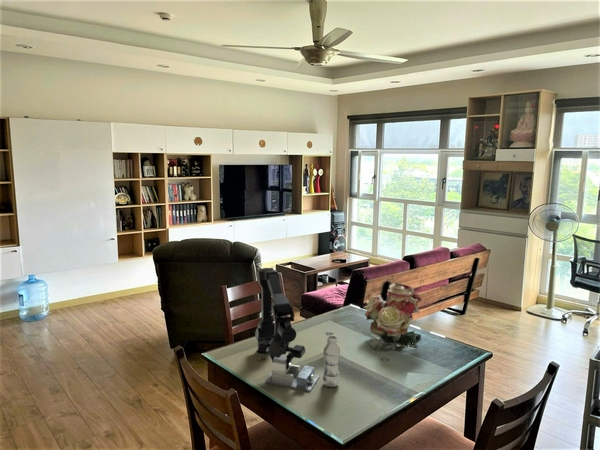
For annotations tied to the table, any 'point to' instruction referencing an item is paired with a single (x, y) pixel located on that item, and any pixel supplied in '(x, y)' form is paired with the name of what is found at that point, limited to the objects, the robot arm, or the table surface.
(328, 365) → the plastic bottle
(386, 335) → the rose bouquet
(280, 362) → the grey rectangular block
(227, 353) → the table surface
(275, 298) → the robot arm
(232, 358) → the table surface
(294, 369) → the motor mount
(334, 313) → the table surface
